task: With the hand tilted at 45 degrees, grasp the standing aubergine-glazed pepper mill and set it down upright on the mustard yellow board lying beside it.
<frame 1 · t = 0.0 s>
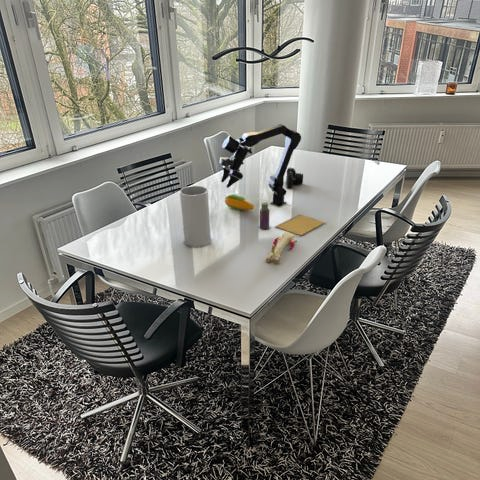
hand: (224, 184, 240), 15 cm above the table, tool tilted 35°, fingers open, 9 cm apart
cylinder vase: (197, 241, 218), on the table
pepper mill: (264, 227, 230), on the table
film camera: (293, 184, 282), on the table
corn: (240, 209, 250), on the table
mustard yellow board: (300, 225, 231), on the table
beige elongated piece: (281, 251, 208), on the table
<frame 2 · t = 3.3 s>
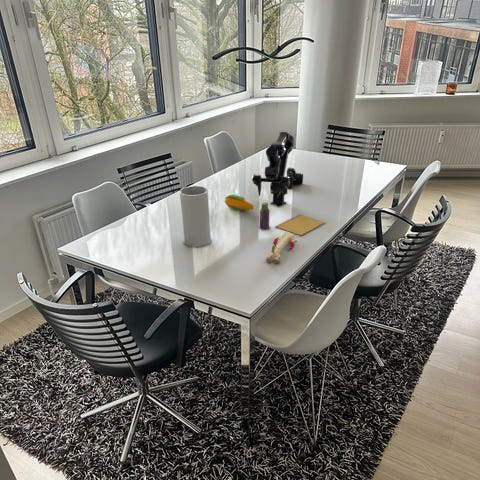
hand: (268, 196, 228), 14 cm above the table, tool tilted 45°, fingers open, 9 cm apart
nothing on the table moved.
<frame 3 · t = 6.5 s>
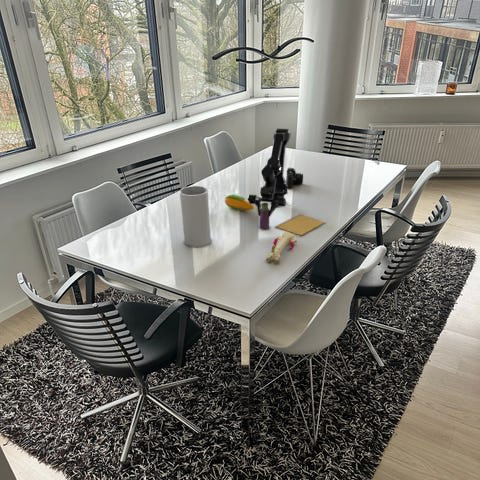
hand: (263, 216, 225), 7 cm above the table, tool tilted 45°, fingers closed on pepper mill, 5 cm apart
pepper mill: (264, 227, 230), on the table, touching gripper
everything else where it was.
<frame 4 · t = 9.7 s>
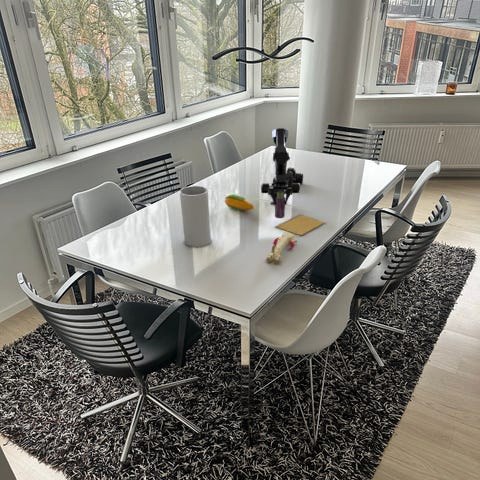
hand: (280, 204, 220), 13 cm above the table, tool tilted 45°, fingers closed on pepper mill, 5 cm apart
pepper mill: (279, 216, 225), point 6 cm above the table, touching gripper
everything else where it was.
when the fingers open (7 cm above the table, at t = 13.4 s): pepper mill stays where it is, resting on mustard yellow board.
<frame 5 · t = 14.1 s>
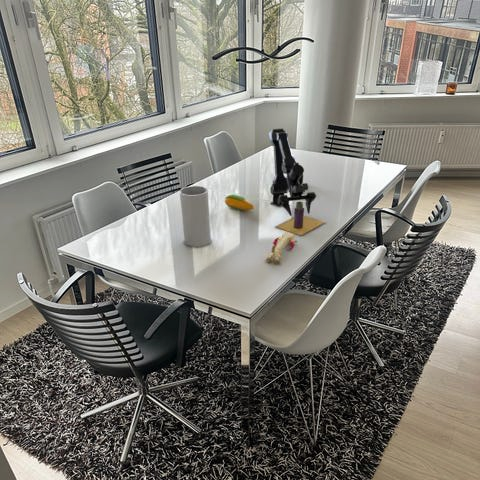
hand: (300, 214, 224), 7 cm above the table, tool tilted 45°, fingers open, 9 cm apart
pepper mill: (298, 226, 229), resting on mustard yellow board
everything else where it was.
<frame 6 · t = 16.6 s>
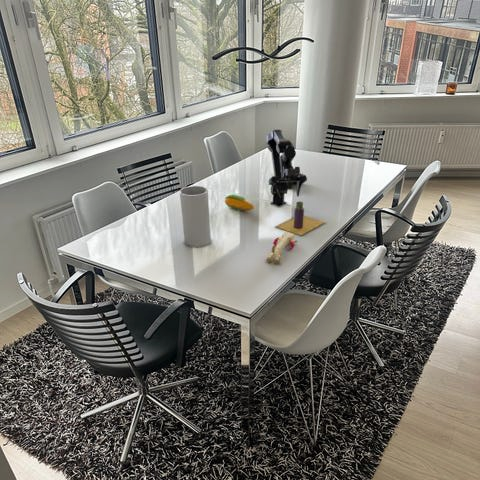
hand: (289, 196, 229), 13 cm above the table, tool tilted 35°, fingers open, 9 cm apart
nothing on the table moved.
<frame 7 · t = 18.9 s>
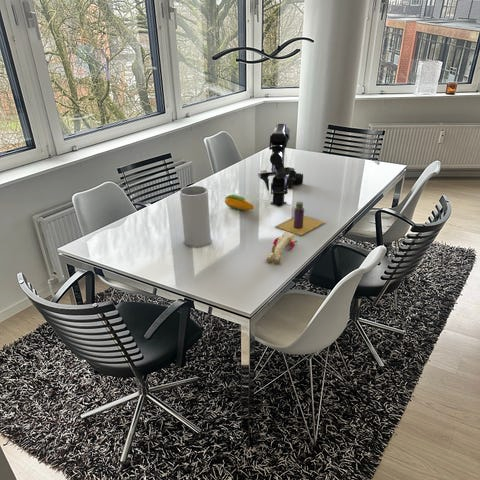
hand: (276, 189, 237), 13 cm above the table, tool pointing down, fingers open, 9 cm apart
nothing on the table moved.
at the end: pepper mill inside the target area on the mustard yellow board (3.1 cm from its centre), point 0.4 cm above the mustard yellow board's base; pepper mill tilted 0°; the gripper is holding nothing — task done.
